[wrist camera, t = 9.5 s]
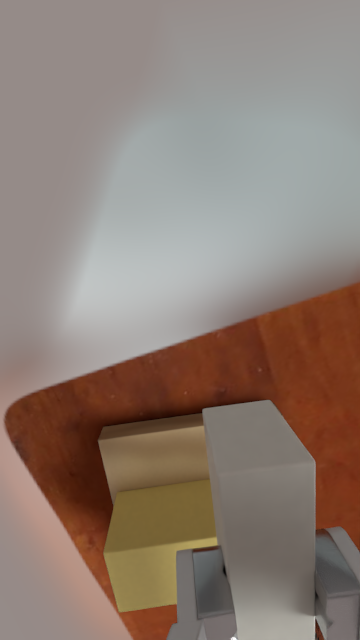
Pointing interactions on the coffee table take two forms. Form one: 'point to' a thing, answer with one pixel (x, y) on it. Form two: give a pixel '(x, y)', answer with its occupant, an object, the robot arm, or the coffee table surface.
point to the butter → (155, 540)
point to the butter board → (154, 453)
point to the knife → (264, 519)
